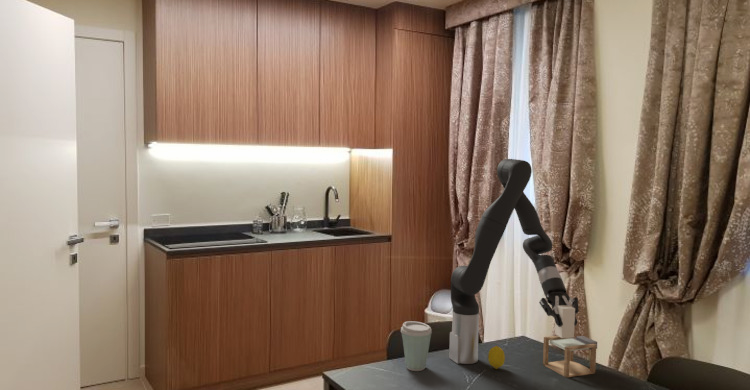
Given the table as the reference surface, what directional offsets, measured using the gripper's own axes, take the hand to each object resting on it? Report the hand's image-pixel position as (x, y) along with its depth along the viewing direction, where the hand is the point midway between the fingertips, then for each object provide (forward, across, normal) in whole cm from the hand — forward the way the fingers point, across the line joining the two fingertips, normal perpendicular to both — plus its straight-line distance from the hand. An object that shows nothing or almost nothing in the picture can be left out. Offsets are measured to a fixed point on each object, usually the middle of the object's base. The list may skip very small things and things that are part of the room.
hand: (567, 325), depth 180 cm
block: (+2, 0, +4) cm, 5 cm away
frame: (+10, +2, +12) cm, 16 cm away
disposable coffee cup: (+5, -50, +18) cm, 53 cm away
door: (+4, +4, +8) cm, 10 cm away
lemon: (+8, -23, +15) cm, 28 cm away
